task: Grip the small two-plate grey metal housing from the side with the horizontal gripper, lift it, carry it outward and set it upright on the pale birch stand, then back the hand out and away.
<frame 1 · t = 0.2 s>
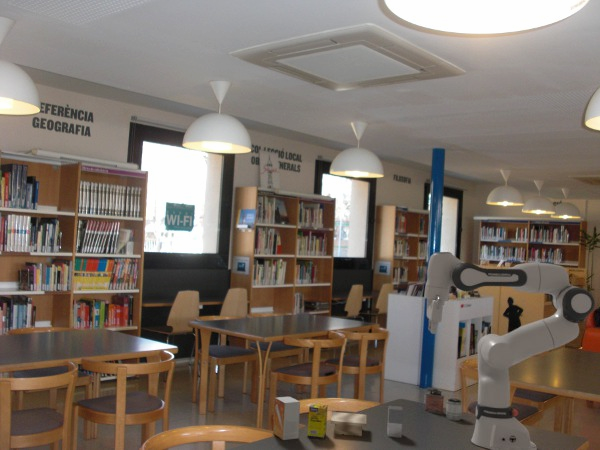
hand: (431, 332, 238), 39 cm above the table, tool pointing down, fingers open, 8 cm apart
supplement box: (316, 437, 232), on the table
metal housing: (394, 435, 239), on the table
small box: (285, 436, 230), on the table
birch stand: (348, 431, 241), on the table
camera lens: (453, 419, 268), on the table
lighter: (434, 412, 278), on the table
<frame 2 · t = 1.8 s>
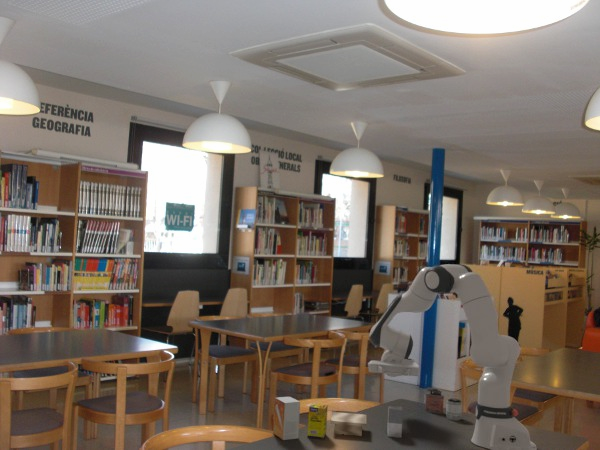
hand: (394, 372, 252), 21 cm above the table, tool horizontal, fingers open, 8 cm apart
nothing on the table moved.
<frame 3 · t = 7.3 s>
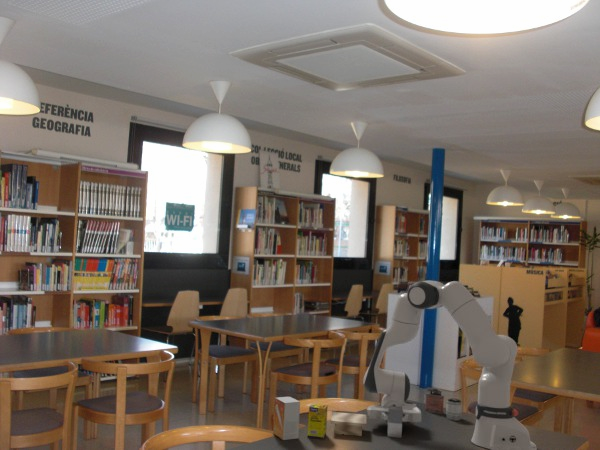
hand: (395, 419, 239), 6 cm above the table, tool horizontal, fingers closed on metal housing, 5 cm apart
metal housing: (394, 435, 239), on the table, touching gripper
everything else where it was.
when the fingers open (12 cm above the table, at t = 16.7 s): metal housing drops 1 cm, resting on birch stand.
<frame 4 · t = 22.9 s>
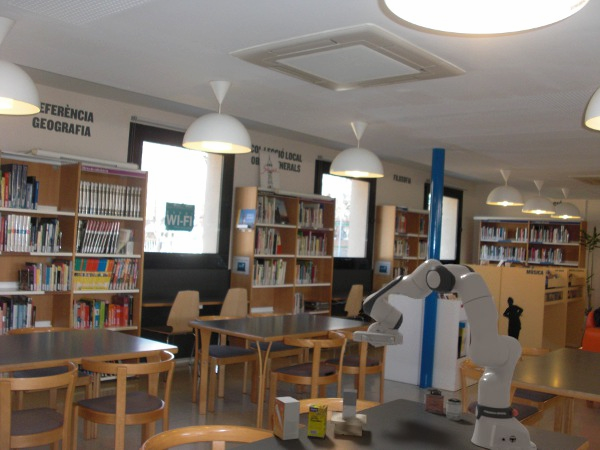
hand: (378, 340, 259), 32 cm above the table, tool horizontal, fingers open, 8 cm apart
metal housing: (348, 417, 241), point 5 cm above the table, touching birch stand
everything else where it was.
at the end: metal housing inside the target area on the birch stand (0.0 cm from its centre), point 5.0 cm above the birch stand's base; metal housing tilted 0°; the gripper is holding nothing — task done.
